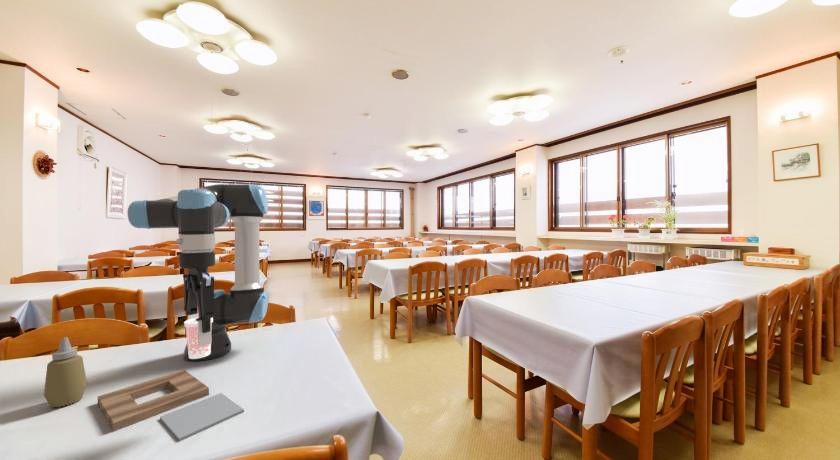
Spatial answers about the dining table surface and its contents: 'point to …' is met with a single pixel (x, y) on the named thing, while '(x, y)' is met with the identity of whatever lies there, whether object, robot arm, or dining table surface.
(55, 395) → the squeeze bottle
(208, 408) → the rubber mat
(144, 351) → the dining table surface
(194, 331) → the beverage cup
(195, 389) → the pocket holder
